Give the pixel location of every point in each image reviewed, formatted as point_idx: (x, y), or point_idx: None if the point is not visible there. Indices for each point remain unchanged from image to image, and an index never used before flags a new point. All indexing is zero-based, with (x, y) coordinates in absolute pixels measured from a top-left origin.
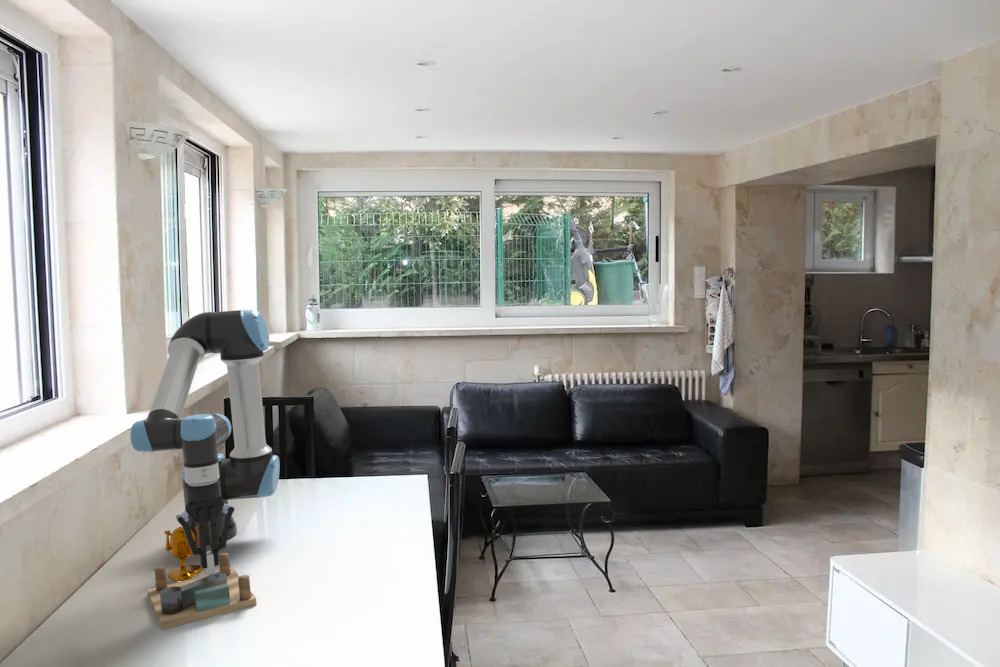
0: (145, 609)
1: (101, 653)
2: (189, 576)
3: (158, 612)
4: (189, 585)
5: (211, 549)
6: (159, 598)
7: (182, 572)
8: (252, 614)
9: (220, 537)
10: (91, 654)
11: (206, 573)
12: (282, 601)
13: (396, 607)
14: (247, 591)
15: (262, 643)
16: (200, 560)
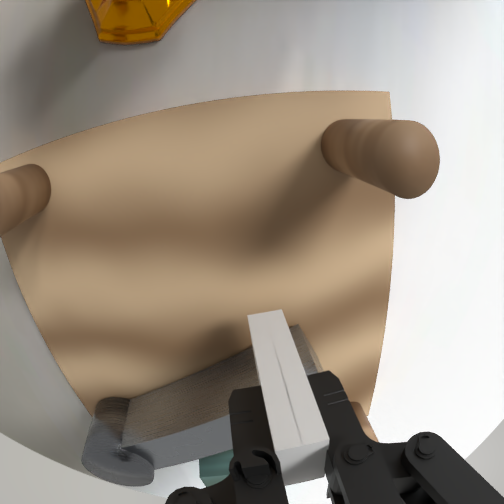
0: (24, 300)
1: (40, 448)
2: (159, 24)
3: (86, 403)
4: (175, 448)
5: (331, 475)
6: (47, 301)
7: (122, 3)
8: None
9: (441, 498)
10: (25, 441)
11: (252, 340)
12: (411, 397)
13: (482, 427)
14: None
15: (311, 495)
16: (231, 430)
